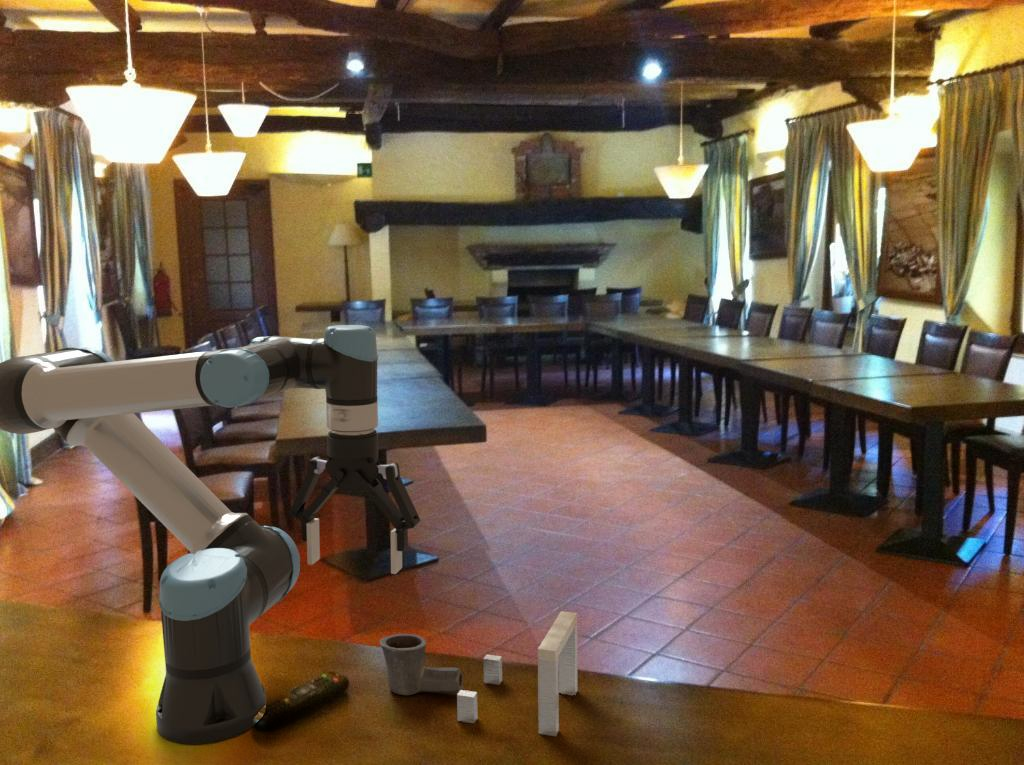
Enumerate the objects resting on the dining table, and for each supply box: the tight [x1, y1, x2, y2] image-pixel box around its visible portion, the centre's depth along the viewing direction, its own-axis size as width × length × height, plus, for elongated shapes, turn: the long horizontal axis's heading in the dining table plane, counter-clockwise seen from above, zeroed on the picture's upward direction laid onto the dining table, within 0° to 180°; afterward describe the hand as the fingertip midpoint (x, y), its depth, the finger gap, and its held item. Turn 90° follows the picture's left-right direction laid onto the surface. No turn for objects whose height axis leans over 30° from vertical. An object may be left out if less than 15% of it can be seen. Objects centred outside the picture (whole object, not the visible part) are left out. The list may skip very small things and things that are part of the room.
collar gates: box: [456, 610, 578, 737], centre depth 129 cm, size 14×13×12 cm
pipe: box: [379, 633, 464, 696], centre depth 134 cm, size 6×13×8 cm, turn 78°
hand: (354, 566), depth 134 cm, fingers open, 13 cm apart
